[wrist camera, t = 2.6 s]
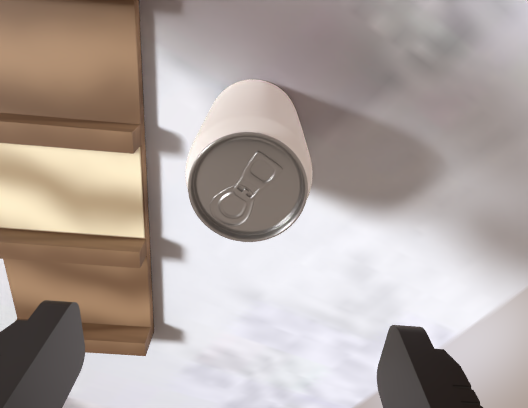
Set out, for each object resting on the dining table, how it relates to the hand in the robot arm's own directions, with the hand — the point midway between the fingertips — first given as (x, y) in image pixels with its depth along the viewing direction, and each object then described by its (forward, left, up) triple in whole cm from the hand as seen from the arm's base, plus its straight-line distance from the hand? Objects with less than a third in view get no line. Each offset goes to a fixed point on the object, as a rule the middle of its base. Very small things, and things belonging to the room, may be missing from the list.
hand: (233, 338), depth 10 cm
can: (0, 0, -21) cm, 21 cm away
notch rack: (+6, -14, -21) cm, 26 cm away
